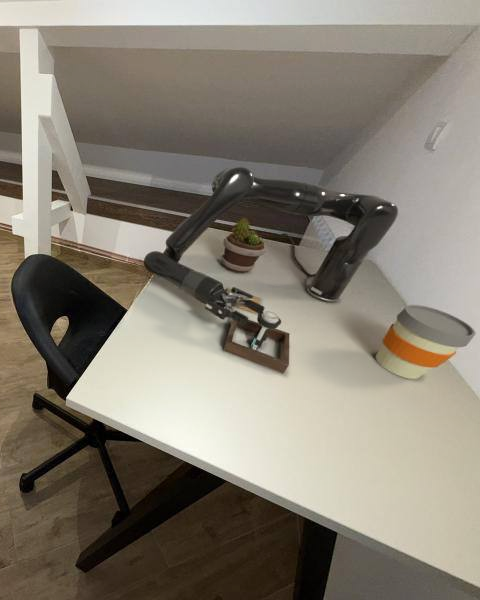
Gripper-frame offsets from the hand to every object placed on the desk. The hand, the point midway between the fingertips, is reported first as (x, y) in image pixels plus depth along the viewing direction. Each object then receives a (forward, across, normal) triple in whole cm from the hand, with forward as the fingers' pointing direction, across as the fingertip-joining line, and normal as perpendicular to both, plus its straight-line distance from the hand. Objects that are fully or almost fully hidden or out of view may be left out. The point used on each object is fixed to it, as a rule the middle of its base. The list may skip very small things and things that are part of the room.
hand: (255, 316), depth 80 cm
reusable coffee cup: (+28, +25, +8) cm, 39 cm away
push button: (+3, 0, +8) cm, 9 cm away
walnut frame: (+3, 0, +8) cm, 8 cm away
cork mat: (-11, +18, +8) cm, 22 cm away
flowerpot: (-25, +39, +8) cm, 47 cm away
